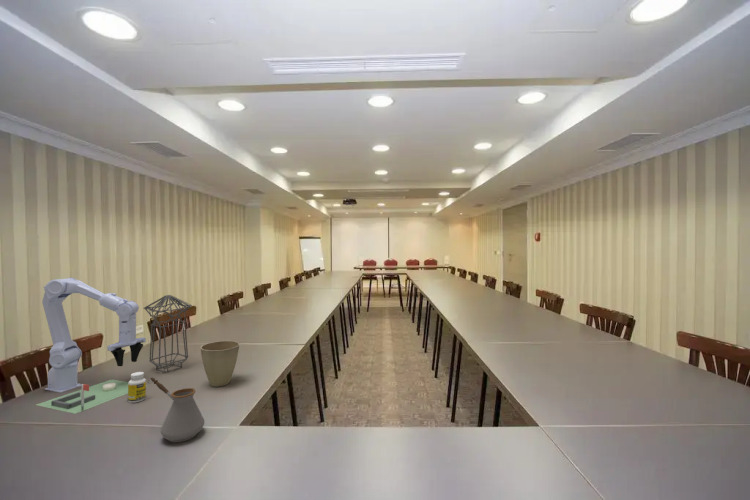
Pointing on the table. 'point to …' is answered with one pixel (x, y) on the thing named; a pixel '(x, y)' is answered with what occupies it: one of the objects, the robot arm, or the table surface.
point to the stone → (109, 387)
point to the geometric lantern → (163, 299)
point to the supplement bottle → (137, 387)
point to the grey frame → (62, 401)
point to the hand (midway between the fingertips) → (127, 363)
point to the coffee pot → (181, 415)
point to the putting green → (93, 390)
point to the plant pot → (219, 361)
